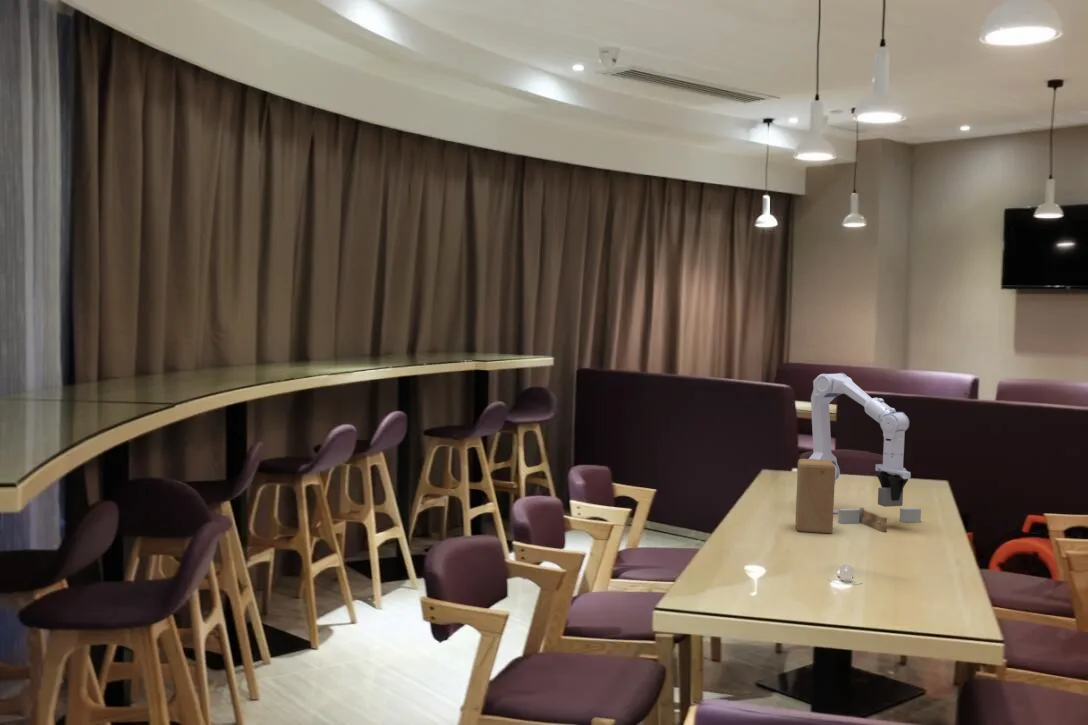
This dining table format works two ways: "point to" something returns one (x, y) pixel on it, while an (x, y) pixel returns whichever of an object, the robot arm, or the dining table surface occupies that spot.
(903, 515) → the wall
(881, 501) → the grey rectangular block
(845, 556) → the dining table surface
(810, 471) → the wooden block
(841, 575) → the teacup and saucer
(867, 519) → the door
